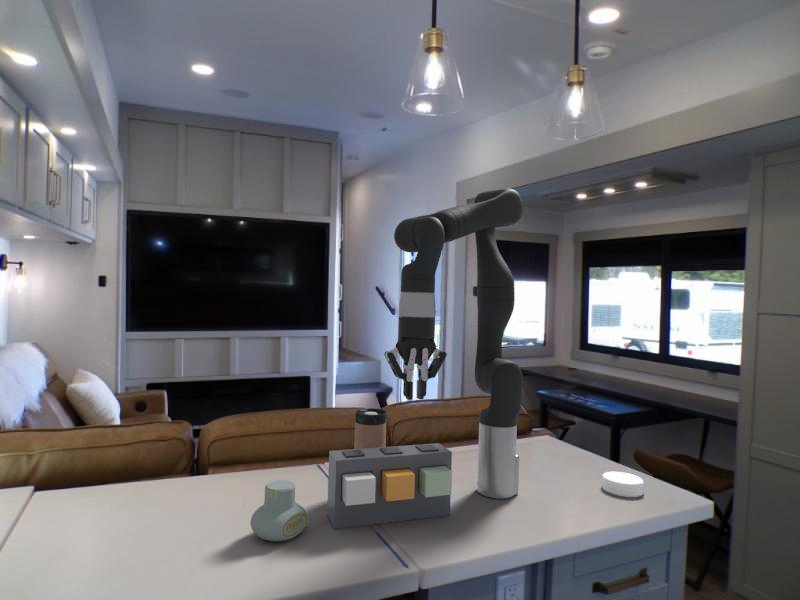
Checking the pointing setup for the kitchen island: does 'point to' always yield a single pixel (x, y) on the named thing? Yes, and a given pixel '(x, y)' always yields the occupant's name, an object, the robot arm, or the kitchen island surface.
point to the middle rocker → (397, 484)
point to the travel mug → (370, 429)
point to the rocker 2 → (434, 480)
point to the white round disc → (622, 484)
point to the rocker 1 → (358, 488)
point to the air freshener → (279, 513)
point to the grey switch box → (375, 463)
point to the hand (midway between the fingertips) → (414, 398)
